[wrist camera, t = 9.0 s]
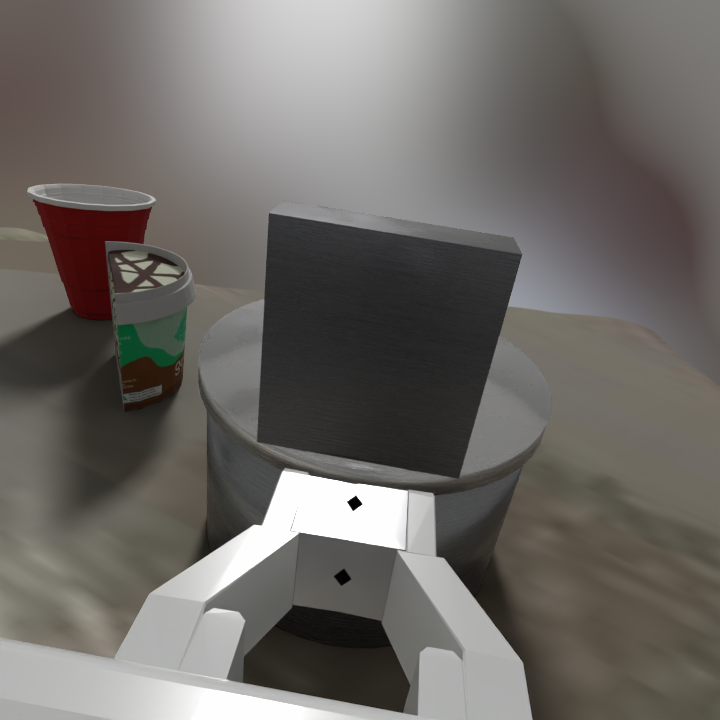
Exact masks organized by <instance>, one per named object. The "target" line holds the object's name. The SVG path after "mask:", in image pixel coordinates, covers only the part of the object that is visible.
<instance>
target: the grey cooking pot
mask: <svg viewBox="0 0 720 720" xmlns="http://www.w3.org/2000/svg"><path fill="white" fill-rule="evenodd" d="M522 467H523V466H522ZM522 467H521V468H519V469H518V470H516V471H514V472H513V473H511V474H510V475H508V476H507V477H505V478H502V479H500V480H498V481H496V482H493V483H491V484H489V485H486V486H482V487H479V488H475V489H471V490H468V491H464V492H457V493H451V494H444V495H436V496H435V519H436V557H441V558H444V559H445V560H446V561H447V563H448V564H449V565H450V567H451V568H452V569H453V571H454V572H455V573H456V575H457V576H458V577H459V579H460V580H461V581H462V583H463V584H464V585H465V586H466V588H467V589H468V590H469V592H470V593H471V594H472V596H473V597H475V595H476V594H477V592H478V590H479V588H480V587H481V585H482V582H483V579H484V576H485V573H486V570H487V567H488V565H489V562H490V559H491V556H492V553H493V550H494V547H495V545H496V542H497V539H498V536H499V533H500V530H501V527H502V525H503V522H504V519H505V516H506V513H507V510H508V507H509V504H510V502H511V499H512V496H513V493H514V490H515V487H516V484H517V482H518V479H519V476H520V473H521V470H522ZM282 471H283V470H282V469H280V468H277V467H275V466H273V465H271V464H269V463H267V462H265V461H263V460H262V459H260V458H258V457H257V456H255V455H253V454H251V453H250V452H248V451H247V450H245V449H244V448H243V447H241V446H240V445H239V444H237V443H236V442H235V441H233V440H232V439H231V438H230V437H229V436H228V435H227V434H226V433H225V432H224V431H223V430H222V429H221V428H220V427H219V426H218V425H217V424H216V423H215V421H214V420H213V419H212V417H211V416H210V414H209V413H208V411H207V536H208V543H209V549H210V552H211V553H212V552H213V551H215V550H216V549H218V548H219V547H221V546H222V545H224V544H225V543H227V542H228V541H230V540H232V539H233V538H235V537H236V536H238V535H239V534H241V533H242V532H244V531H245V530H247V529H248V528H250V527H251V526H253V525H258V526H261V525H262V523H263V520H264V517H265V515H266V512H267V509H268V507H269V504H270V501H271V499H272V496H273V493H274V491H275V488H276V485H277V483H278V480H279V477H280V475H281V472H282ZM337 611H338V610H337ZM337 611H331V610H324V609H318V608H311V607H305V606H298V605H292V608H291V609H290V610H289V611H288V612H287V613H286V614H285V615H284V616H283V617H282V618H281V619H280V620H279V621H278V622H277V623H276V624H275V626H277V627H279V628H280V629H282V630H284V631H287V632H289V633H292V634H294V635H297V636H299V637H302V638H305V639H308V640H312V641H316V642H320V643H324V644H328V645H336V646H343V647H362V648H374V647H382V646H391V645H392V644H391V642H390V640H389V638H388V636H387V634H386V631H385V629H384V627H383V625H382V621H380V620H376V619H371V618H366V617H361V616H356V615H352V614H347V613H342V612H337Z"/></svg>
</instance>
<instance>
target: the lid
mask: <svg viewBox="0 0 720 720" xmlns="http://www.w3.org/2000/svg"><path fill="white" fill-rule="evenodd" d="M521 257H522V253H521V251H520V249H519V247H518V246H517V243H516V242H515V240H514V238H511V237H506V236H500V235H493V234H487V233H481V232H474V231H469V230H463V229H456V228H450V227H444V226H438V225H432V224H425V223H420V222H413V221H407V220H401V219H395V218H389V217H382V216H376V215H370V214H364V213H358V212H352V211H346V210H339V209H333V208H327V207H321V206H315V205H309V204H303V203H296V202H290V201H283V202H282V203H281V204H280V205H278V206H277V207H276V208H275V209H274V210H272V211H271V212H270V213H269V225H268V244H267V261H266V280H265V298H264V299H263V300H259V301H256V302H253V303H250V304H247V305H244V306H242V307H240V308H238V309H236V310H234V311H232V312H230V313H228V314H227V315H225V316H224V317H222V318H221V319H219V320H218V321H217V322H216V323H215V324H214V325H213V326H212V327H211V328H210V329H209V331H208V332H207V333H206V335H205V336H204V338H203V340H202V343H201V345H200V349H199V388H200V394H201V398H202V400H203V403H204V405H205V407H206V410H207V411H208V413H209V414H210V416H211V417H212V419H213V420H214V421H215V423H216V424H217V425H218V426H219V427H220V428H221V429H222V430H223V431H224V432H225V433H226V434H227V435H228V436H229V437H230V438H231V439H232V440H233V441H235V442H236V443H237V444H239V445H240V446H241V447H243V448H244V449H245V450H247V451H248V452H250V453H251V454H253V455H255V456H257V457H258V458H260V459H262V460H263V461H265V462H267V463H269V464H271V465H273V466H275V467H277V468H280V469H282V470H284V469H285V468H287V469H293V470H298V471H303V472H308V473H310V472H311V473H316V474H321V475H326V476H331V477H336V478H341V479H347V480H352V481H357V482H362V483H368V484H374V485H380V486H386V487H392V488H399V489H405V490H415V491H422V492H429V493H433V494H434V496H436V495H444V494H451V493H457V492H464V491H468V490H471V489H475V488H479V487H482V486H486V485H489V484H491V483H493V482H496V481H498V480H500V479H502V478H505V477H507V476H508V475H510V474H511V473H513V472H514V471H516V470H518V469H519V468H521V467H522V466H523V465H524V464H525V463H526V462H527V461H528V460H529V459H530V458H531V457H532V456H533V454H534V453H535V451H536V450H537V448H538V446H539V445H540V442H541V439H542V436H543V434H544V431H545V428H546V425H547V423H548V420H549V416H550V413H551V410H552V397H551V393H550V389H549V386H548V384H547V382H546V380H545V378H544V376H543V374H542V373H541V372H540V370H539V369H538V368H537V366H536V365H535V364H534V363H533V362H532V361H531V360H530V359H529V358H528V357H527V356H526V355H525V354H524V353H523V352H522V351H521V350H519V349H518V348H517V347H516V346H515V345H513V344H512V343H510V342H509V341H507V340H506V339H504V338H503V337H502V336H500V331H501V328H502V324H503V321H504V317H505V313H506V310H507V306H508V303H509V299H510V296H511V292H512V289H513V285H514V282H515V278H516V274H517V271H518V267H519V264H520V260H521Z"/></svg>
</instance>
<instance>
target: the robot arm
mask: <svg viewBox="0 0 720 720" xmlns="http://www.w3.org/2000/svg"><path fill="white" fill-rule="evenodd" d="M292 605H298V606H305V607H311V608H318V609H324V610H331V611H337V610H338V611H337V612H342V613H347V614H352V615H356V616H361V617H366V618H371V619H376V620H380V621H382V625H383V627H384V629H385V631H386V634H387V636H388V638H389V640H390V642H391V644H392V647H393V649H394V651H395V653H396V655H397V657H398V660H399V662H400V664H401V666H402V668H403V670H404V672H405V675H406V677H407V679H408V681H409V683H410V685H411V686H410V689H409V693H408V696H407V700H406V703H405V707H404V710H403V713H400V712H395V711H389V710H384V709H379V708H373V707H368V706H363V705H357V704H352V703H347V702H341V701H336V700H331V699H325V698H320V697H315V696H309V695H304V694H299V693H293V692H288V691H283V690H277V689H272V688H267V687H262V686H256V685H251V684H246V683H243V665H244V656H245V655H246V654H247V653H248V652H249V651H250V650H251V649H252V648H253V647H254V646H255V645H256V644H257V643H258V642H259V641H260V640H261V639H262V638H263V637H264V636H265V635H266V634H267V633H268V632H269V631H270V629H271V628H272V627H273V626H274V625H275V624H276V623H277V622H278V621H279V620H280V619H281V618H282V617H283V616H284V615H285V614H286V613H287V612H288V611H289V610H290V609H291V608H292ZM0 720H532V714H531V708H530V702H529V696H528V690H527V684H526V678H525V672H524V666H523V662H522V661H521V659H520V658H519V657H518V655H517V654H516V653H515V651H514V650H513V649H512V647H511V646H510V645H509V643H508V642H507V641H506V639H505V638H504V637H503V635H502V634H501V633H500V631H499V630H498V629H497V628H496V626H495V625H494V624H493V622H492V621H491V620H490V618H489V617H488V616H487V614H486V613H485V612H484V610H483V609H482V608H481V606H480V605H479V604H478V602H477V601H476V600H475V598H474V597H473V596H472V594H471V593H470V592H469V590H468V589H467V588H466V586H465V585H464V584H463V583H462V581H461V580H460V579H459V577H458V576H457V575H456V573H455V572H454V571H453V569H452V568H451V567H450V565H449V564H448V563H447V561H446V560H445V559H444V558H441V557H436V519H435V496H434V494H433V493H429V492H422V491H415V490H405V489H399V488H392V487H386V486H380V485H374V484H368V483H362V482H357V481H352V480H347V479H341V478H336V477H331V476H326V475H321V474H316V473H311V472H310V473H308V472H303V471H298V470H293V469H287V468H285V469H284V470H283V471H282V472H281V475H280V477H279V480H278V483H277V485H276V488H275V491H274V493H273V496H272V499H271V501H270V504H269V507H268V509H267V512H266V515H265V517H264V520H263V523H262V525H261V526H258V525H253V526H251V527H250V528H248V529H247V530H245V531H244V532H242V533H241V534H239V535H238V536H236V537H235V538H233V539H232V540H230V541H228V542H227V543H225V544H224V545H222V546H221V547H219V548H218V549H216V550H215V551H213V552H212V553H210V554H209V555H207V556H206V557H204V558H203V559H201V560H200V561H198V562H197V563H195V564H194V565H192V566H191V567H189V568H188V569H186V570H185V571H183V572H182V573H180V574H179V575H177V576H175V577H174V578H172V579H171V580H169V581H168V582H166V583H165V584H163V585H162V586H160V587H159V588H157V589H156V590H154V591H153V592H151V593H150V594H149V596H148V598H147V599H146V601H145V603H144V605H143V607H142V608H141V610H140V612H139V614H138V616H137V618H136V619H135V621H134V623H133V625H132V627H131V628H130V630H129V632H128V634H127V636H126V638H125V639H124V641H123V643H122V645H121V647H120V648H119V650H118V652H117V654H116V656H115V658H114V659H112V658H107V657H102V656H96V655H91V654H86V653H80V652H75V651H70V650H64V649H59V648H54V647H48V646H43V645H38V644H32V643H27V642H22V641H16V640H11V639H5V638H0Z"/></svg>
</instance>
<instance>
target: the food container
mask: <svg viewBox="0 0 720 720" xmlns="http://www.w3.org/2000/svg"><path fill="white" fill-rule="evenodd" d="M105 245H106V257H107V266H108V277H109V288H110V299H111V310H112V320H113V331H114V342H115V353H116V360H117V367H118V373H119V380H120V387H121V393H122V400H123V407H124V411H130V410H136V409H141V408H144V407H147V406H150V405H153V404H156V403H159V402H161V401H163V400H164V399H166V398H168V397H169V396H171V395H173V394H174V393H175V391H176V390H177V389H178V388H179V387H180V386H181V383H182V379H183V364H184V347H185V331H186V315H187V306H188V305H189V304H191V303H192V302H193V300H194V298H195V297H196V289H195V285H194V281H193V277H192V273H191V270H190V269H189V268H188V265H187V263H186V261H185V260H184V259H183V258H182V257H180V256H179V255H177V254H175V253H173V252H171V251H168V250H165V249H162V248H158V247H154V246H150V245H144V244H138V243H129V242H111V241H105Z"/></svg>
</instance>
